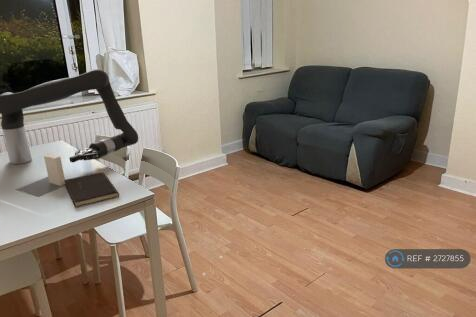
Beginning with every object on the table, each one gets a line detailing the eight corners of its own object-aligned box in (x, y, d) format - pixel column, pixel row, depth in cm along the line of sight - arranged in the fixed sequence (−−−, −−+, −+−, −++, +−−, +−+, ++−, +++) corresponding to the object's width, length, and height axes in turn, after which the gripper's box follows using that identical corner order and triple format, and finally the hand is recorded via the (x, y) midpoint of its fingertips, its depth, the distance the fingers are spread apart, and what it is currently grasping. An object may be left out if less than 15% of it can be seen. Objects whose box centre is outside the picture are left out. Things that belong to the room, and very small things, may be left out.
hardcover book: (75, 207, 138) (74, 202, 137) (65, 185, 156) (64, 179, 155) (119, 197, 146) (118, 191, 145) (104, 176, 164) (104, 171, 163)
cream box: (49, 182, 159) (43, 155, 154) (54, 180, 161) (49, 153, 157) (60, 185, 155) (54, 158, 151) (65, 183, 157) (60, 156, 153)
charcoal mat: (15, 190, 153) (15, 189, 153) (49, 177, 165) (48, 176, 165) (38, 198, 146) (38, 197, 146) (71, 183, 158) (71, 182, 158)
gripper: (91, 138, 178) (59, 149, 164) (111, 142, 172) (79, 154, 158) (93, 153, 180) (62, 165, 166) (113, 158, 174) (82, 170, 160)
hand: (70, 160), depth 162 cm, fingers closed
